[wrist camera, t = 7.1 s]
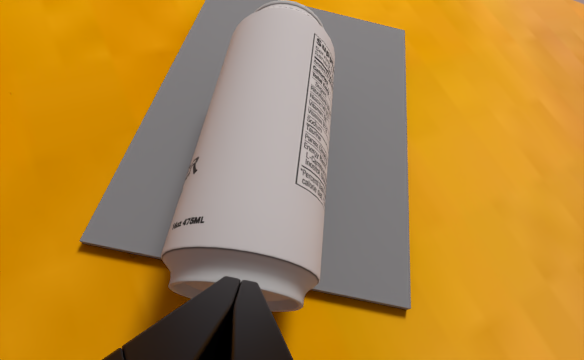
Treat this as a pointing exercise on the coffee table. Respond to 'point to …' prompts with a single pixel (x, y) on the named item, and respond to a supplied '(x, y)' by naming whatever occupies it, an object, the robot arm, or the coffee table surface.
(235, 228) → the energy drink can
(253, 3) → the mat
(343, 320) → the coffee table surface
